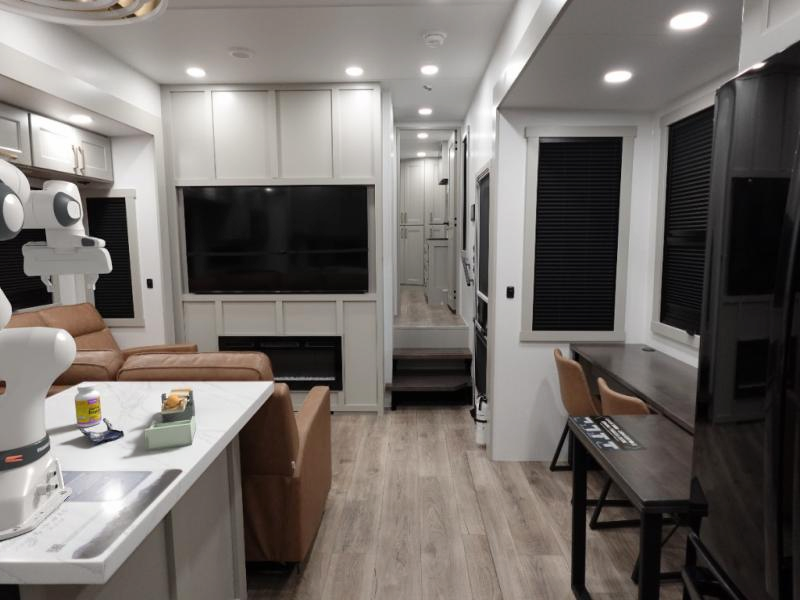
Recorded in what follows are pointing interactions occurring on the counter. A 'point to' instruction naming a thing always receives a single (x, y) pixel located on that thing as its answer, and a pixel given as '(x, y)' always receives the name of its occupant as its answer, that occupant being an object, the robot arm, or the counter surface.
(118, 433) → the snack package
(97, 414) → the supplement bottle
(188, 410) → the fulcrum
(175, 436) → the dish
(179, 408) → the lever
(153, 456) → the counter surface
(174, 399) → the ball
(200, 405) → the counter surface
